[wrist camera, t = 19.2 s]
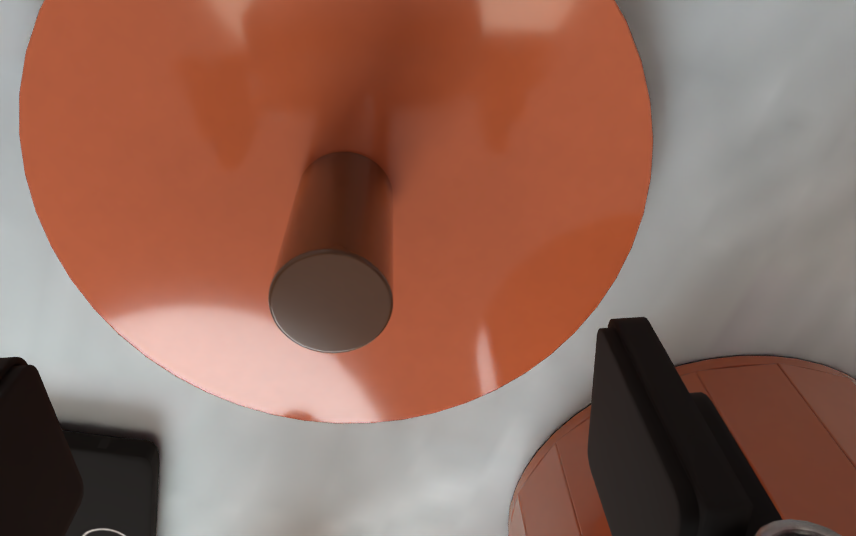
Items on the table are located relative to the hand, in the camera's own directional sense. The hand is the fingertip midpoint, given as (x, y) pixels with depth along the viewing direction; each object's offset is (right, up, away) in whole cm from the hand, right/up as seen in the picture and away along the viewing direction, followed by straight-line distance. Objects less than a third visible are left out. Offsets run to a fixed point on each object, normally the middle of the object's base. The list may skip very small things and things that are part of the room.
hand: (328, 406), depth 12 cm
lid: (0, +4, +6) cm, 8 cm away
